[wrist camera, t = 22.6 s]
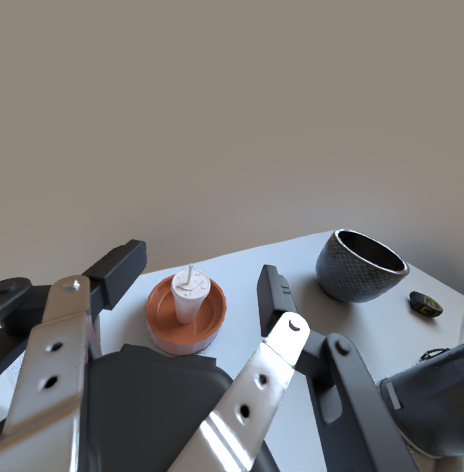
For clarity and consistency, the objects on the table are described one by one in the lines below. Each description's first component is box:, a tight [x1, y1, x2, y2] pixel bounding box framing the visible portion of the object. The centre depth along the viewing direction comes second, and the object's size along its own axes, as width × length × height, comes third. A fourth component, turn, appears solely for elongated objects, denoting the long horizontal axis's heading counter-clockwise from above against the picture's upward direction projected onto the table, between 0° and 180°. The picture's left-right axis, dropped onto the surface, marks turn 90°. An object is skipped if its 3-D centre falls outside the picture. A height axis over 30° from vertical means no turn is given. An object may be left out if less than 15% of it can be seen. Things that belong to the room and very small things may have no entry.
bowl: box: [145, 274, 227, 355], centre depth 33 cm, size 14×14×4 cm
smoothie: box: [171, 263, 210, 324], centre depth 30 cm, size 6×6×14 cm
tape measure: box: [410, 291, 443, 317], centre depth 52 cm, size 7×7×4 cm
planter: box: [316, 229, 410, 303], centre depth 47 cm, size 17×17×16 cm
